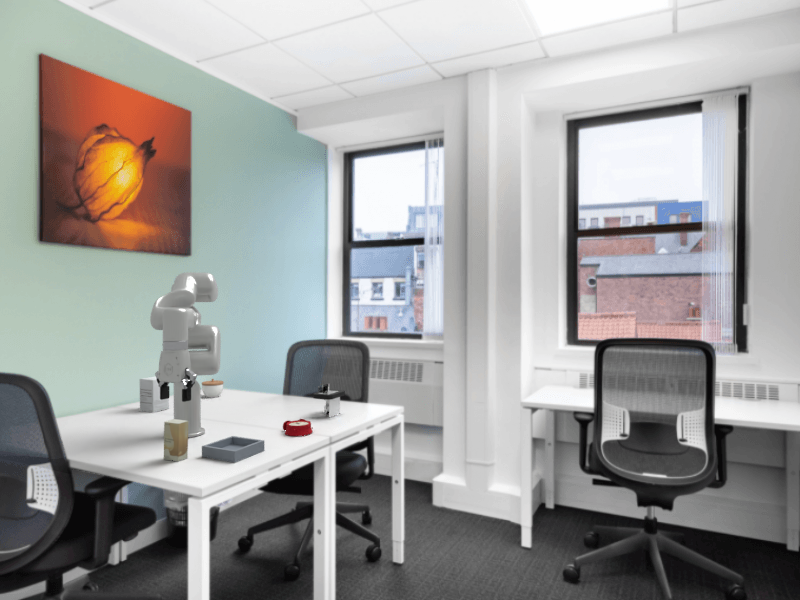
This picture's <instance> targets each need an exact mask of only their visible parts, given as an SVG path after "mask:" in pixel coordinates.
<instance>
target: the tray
mask: <svg viewBox="0 0 800 600" xmlns="http://www.w3.org/2000/svg"><path fill="white" fill-rule="evenodd" d="M264 451H265V439H262V440H261V439H257V438H249V437H242V436H236V435H235V436H234V435H231V436H228V437H225V438H222V439H219V440H217V441H214V442H211V443H207V444H205V445H202V446H201V458H205V457H207V458H206V459H211V458H213V459H212V460H217V459H218V460H217V461H223V462H224V461H225V462H229V463H238V462H240V461H242V460H245V459H248V458H251V457H252V456H255V455H258V454H260V453H262V452H264Z"/></svg>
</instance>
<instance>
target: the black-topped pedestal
mask: <svg viewBox="0 0 800 600" xmlns="http://www.w3.org/2000/svg"><path fill="white" fill-rule="evenodd" d="M317 388H318V390H317V391H316V392H314V393H313V394H312V395H313V396H312V397H313V399H318V400H324V401H325V405H324V406H323V408H324V409H323V410H324V412H323V414H324V415H327V412H329V413H328V418H329V417H330V418H332V417H331V416H333V417H334V415H335V416H337V414H338V415H340V414H341V397H344V396H345V395H346V390H342V389H340V390H339V389H330V383H326V384H322V386H320V385H319V386H317ZM339 413H340V414H339Z"/></svg>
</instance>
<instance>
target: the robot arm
mask: <svg viewBox="0 0 800 600" xmlns="http://www.w3.org/2000/svg"><path fill="white" fill-rule="evenodd" d="M218 287H219V286H218V284H217V280H216V278H215V276H214V275H213V274H212V273H210V272H196V271H195V272H194V271H193V272H192V271H190V272H188V271H187V272H181V273H179V274H178V275H177V276H175V279H174V282H173V284H172V285H171V289H170V292H167V293H165V294H163V295H162V296H160V297H158V298H157V299H156V300H155V301H154V303H153V305H152V309H151V312H150V318H149V321H150V325H151V327H152V328H153V329H154V330H157V331H162V345H161V346H162V350H160V353H159V354H160V355H159V362H158V370H157V371H155V373H154V375H155V376H156V379H157V382H158V384H159V385H158V386H159V387H160V399H161V400H163V399H168V398H169V399H170V386H169V384H170V383H171V384H173V419H177V420H185V421H188V438H193V437H194V438H195V437H199V436H202V435H204V434H205V433H206V429H205V428H204V427H201V426H202V423H201V420H202V419H201V416H202V415H201V413H202V410H201V409H202V405H201V404H202V403H201V402H202V401H201V397H202V394H201V393H202V391H201V389H202V387H201V385H200V383H199V381H197V377H198V376H212V375H213V376H214V375H217V374H218V373H219V372H220V368H221V342H222V341H221V332H220V331H221V330H220V329H219V327H218V326H216V325H213V324H202V314H201V312H200V311H199V310H198V308H196V307H195V306H194V305H195V303H213V302H215V301H216V300H217V299H218V296H219V288H218Z"/></svg>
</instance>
